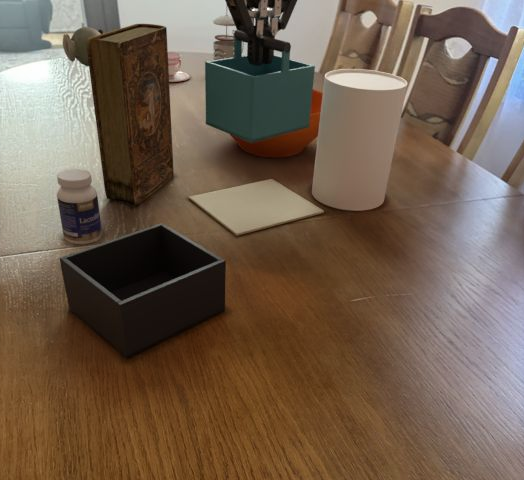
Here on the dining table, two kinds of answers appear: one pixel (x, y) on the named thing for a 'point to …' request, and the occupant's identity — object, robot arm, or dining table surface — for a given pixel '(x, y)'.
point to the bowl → (287, 136)
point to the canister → (357, 137)
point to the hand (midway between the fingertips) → (260, 63)
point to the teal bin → (258, 93)
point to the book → (132, 109)
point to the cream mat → (255, 206)
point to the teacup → (175, 68)
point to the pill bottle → (78, 207)
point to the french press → (224, 39)
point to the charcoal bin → (144, 287)
